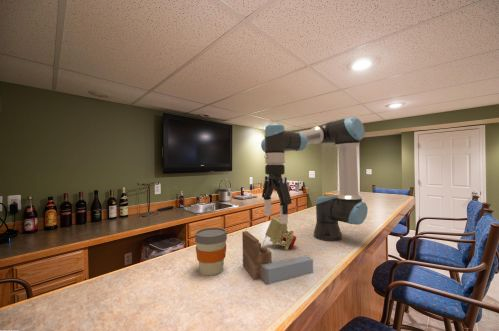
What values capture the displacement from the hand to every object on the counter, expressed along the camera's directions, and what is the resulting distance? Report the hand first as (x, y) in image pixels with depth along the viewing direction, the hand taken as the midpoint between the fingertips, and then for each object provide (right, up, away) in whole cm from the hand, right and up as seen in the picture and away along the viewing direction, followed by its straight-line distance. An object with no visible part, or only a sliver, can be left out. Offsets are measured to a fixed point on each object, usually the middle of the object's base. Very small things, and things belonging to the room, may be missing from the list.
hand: (275, 219), depth 81 cm
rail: (+4, -20, -4) cm, 21 cm away
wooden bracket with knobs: (-6, -20, +1) cm, 21 cm away
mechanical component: (+8, -21, +24) cm, 32 cm away
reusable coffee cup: (-25, -21, +2) cm, 33 cm away
